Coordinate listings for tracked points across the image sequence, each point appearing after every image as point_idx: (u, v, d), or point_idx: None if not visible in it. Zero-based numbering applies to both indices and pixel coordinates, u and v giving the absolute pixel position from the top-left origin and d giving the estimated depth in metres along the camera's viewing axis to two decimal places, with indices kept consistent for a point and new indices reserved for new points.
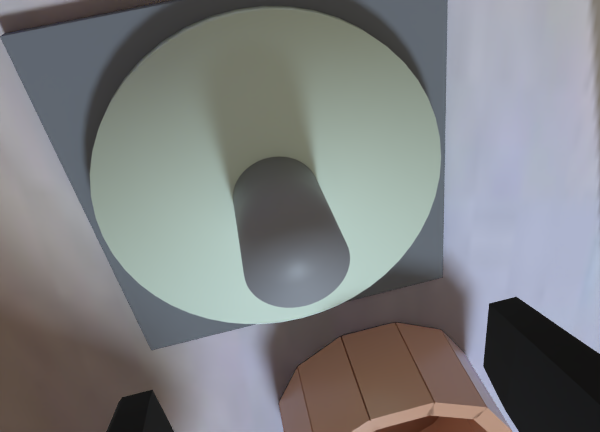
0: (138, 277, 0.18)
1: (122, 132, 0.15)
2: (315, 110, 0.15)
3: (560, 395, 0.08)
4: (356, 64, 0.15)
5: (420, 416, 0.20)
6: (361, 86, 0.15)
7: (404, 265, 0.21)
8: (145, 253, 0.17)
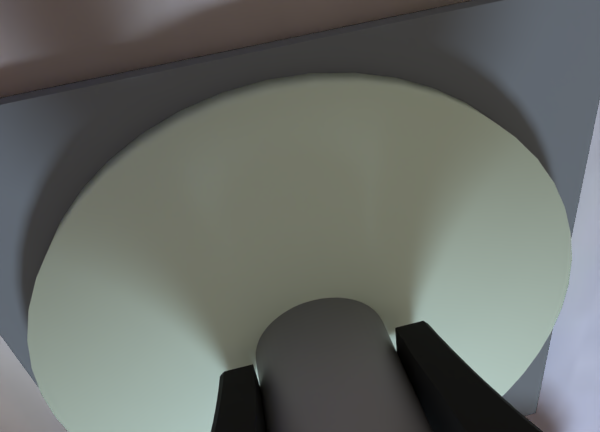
0: None
1: (77, 280, 0.09)
2: (390, 233, 0.10)
3: (447, 426, 0.08)
4: (461, 164, 0.09)
5: None
6: (466, 196, 0.09)
7: None
8: (122, 431, 0.11)
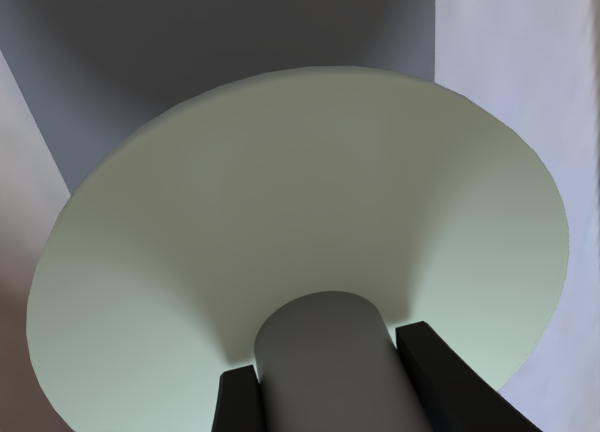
0: None
1: (76, 273, 0.09)
2: (389, 226, 0.10)
3: (447, 426, 0.08)
4: (460, 159, 0.09)
5: None
6: (464, 189, 0.09)
7: None
8: (121, 423, 0.11)
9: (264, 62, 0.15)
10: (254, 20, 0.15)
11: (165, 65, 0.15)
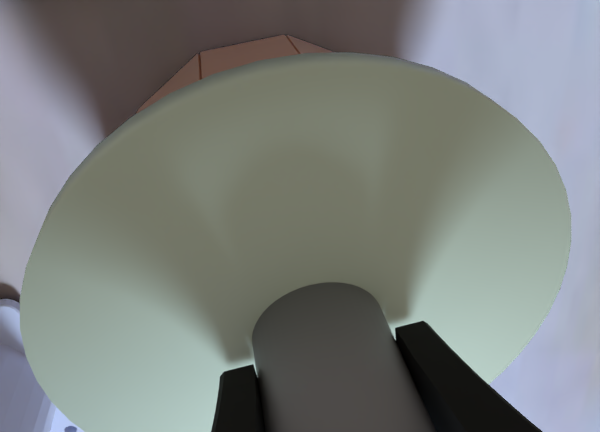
0: None
1: (68, 269, 0.09)
2: (387, 217, 0.09)
3: (447, 426, 0.08)
4: (461, 148, 0.09)
5: None
6: (465, 179, 0.09)
7: None
8: (120, 415, 0.11)
9: None
10: None
11: None
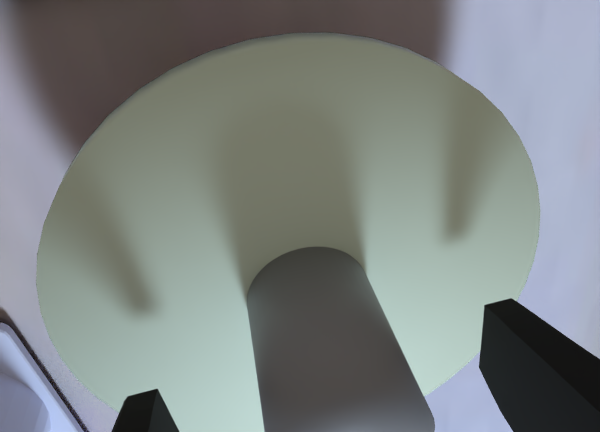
0: (116, 405, 0.13)
1: (81, 226, 0.10)
2: (368, 183, 0.10)
3: (554, 397, 0.08)
4: (431, 118, 0.10)
5: None
6: (437, 148, 0.10)
7: None
8: (125, 376, 0.12)
9: None
10: None
11: None
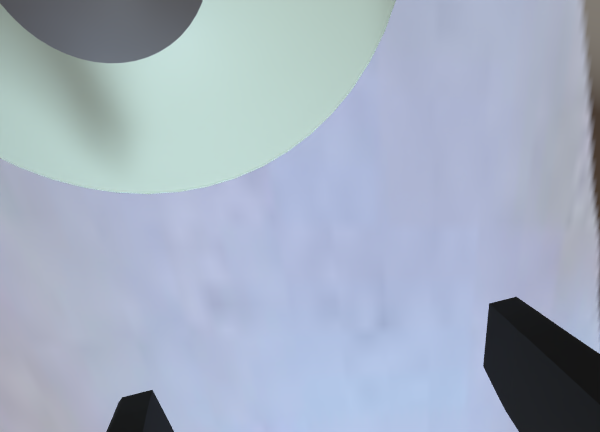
0: None
1: None
2: None
3: (560, 395, 0.08)
4: None
5: None
6: None
7: None
8: None
9: None
10: None
11: None
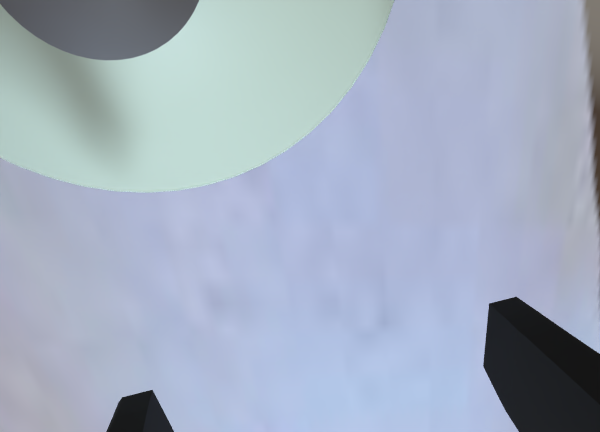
0: None
1: None
2: None
3: (560, 395, 0.08)
4: None
5: None
6: None
7: None
8: None
9: None
10: None
11: None
